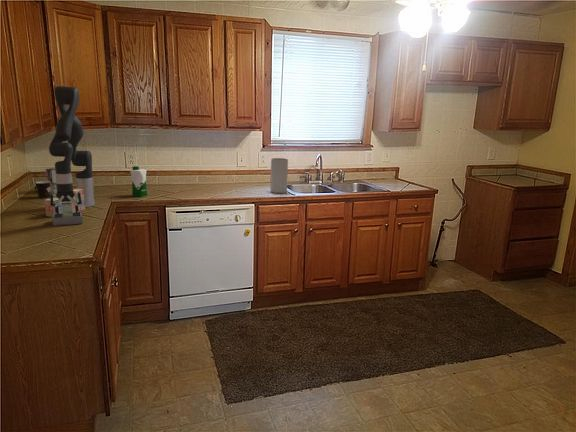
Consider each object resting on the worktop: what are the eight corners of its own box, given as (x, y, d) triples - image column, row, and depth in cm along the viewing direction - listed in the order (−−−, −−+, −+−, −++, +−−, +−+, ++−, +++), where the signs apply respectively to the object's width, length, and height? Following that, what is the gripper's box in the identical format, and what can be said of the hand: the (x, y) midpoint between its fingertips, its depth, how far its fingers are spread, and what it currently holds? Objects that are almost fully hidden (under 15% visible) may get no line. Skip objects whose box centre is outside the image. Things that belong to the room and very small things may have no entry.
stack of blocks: (54, 217, 231) (52, 195, 228) (45, 216, 233) (43, 194, 230) (85, 209, 250) (83, 189, 247) (77, 208, 252) (75, 188, 249)
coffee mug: (47, 195, 283) (45, 180, 281) (54, 197, 279) (53, 182, 277) (29, 198, 273) (27, 182, 271) (36, 200, 269) (35, 184, 267)
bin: (53, 221, 223) (53, 213, 222) (82, 219, 229) (81, 211, 228) (53, 226, 214) (52, 218, 213) (82, 223, 220) (81, 216, 219)
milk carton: (138, 194, 298) (137, 165, 293) (149, 195, 295) (148, 166, 291) (130, 196, 290) (128, 167, 285) (141, 197, 287) (139, 168, 282)
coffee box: (63, 192, 295) (61, 169, 291) (53, 193, 290) (51, 170, 286) (56, 190, 300) (54, 167, 296) (47, 191, 295) (44, 168, 291)
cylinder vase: (267, 192, 321) (268, 159, 315) (274, 189, 332) (275, 157, 326) (283, 194, 317) (284, 160, 310) (289, 191, 328) (290, 158, 322)
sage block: (63, 220, 223) (61, 202, 221) (73, 220, 225) (71, 201, 223) (63, 223, 219) (61, 204, 216) (73, 222, 221) (71, 203, 218)
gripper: (79, 180, 223) (82, 210, 227) (48, 181, 217) (51, 212, 221) (80, 182, 217) (82, 213, 221) (48, 183, 210) (51, 215, 214)
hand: (67, 212), depth 221 cm, fingers open, 8 cm apart
